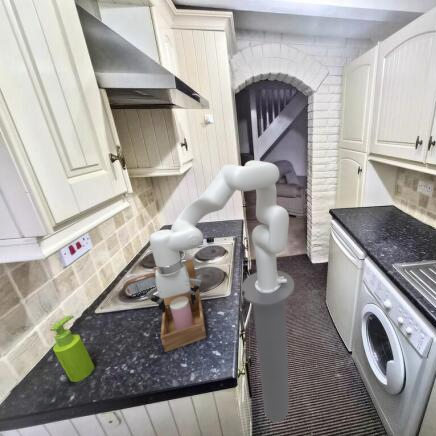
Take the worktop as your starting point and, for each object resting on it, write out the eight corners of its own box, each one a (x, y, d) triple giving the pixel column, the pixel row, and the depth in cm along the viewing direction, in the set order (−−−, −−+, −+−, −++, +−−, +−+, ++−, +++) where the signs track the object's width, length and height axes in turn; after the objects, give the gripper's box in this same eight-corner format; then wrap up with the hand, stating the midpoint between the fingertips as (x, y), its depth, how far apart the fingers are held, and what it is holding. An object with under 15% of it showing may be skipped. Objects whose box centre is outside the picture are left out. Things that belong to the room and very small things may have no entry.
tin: (162, 284, 113) (158, 269, 110) (163, 287, 111) (159, 272, 108) (126, 296, 105) (120, 281, 102) (126, 300, 103) (120, 285, 100)
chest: (206, 337, 84) (203, 323, 81) (164, 352, 78) (160, 337, 76) (202, 309, 97) (200, 296, 94) (167, 320, 92) (163, 307, 89)
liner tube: (196, 320, 91) (190, 295, 86) (191, 333, 85) (185, 307, 80) (180, 321, 90) (173, 296, 86) (173, 334, 84) (166, 309, 80)
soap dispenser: (101, 360, 76) (79, 314, 69) (83, 382, 70) (57, 333, 62) (84, 360, 76) (61, 314, 69) (64, 381, 70) (36, 333, 62)
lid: (192, 259, 90) (192, 254, 95) (153, 267, 85) (155, 262, 90) (200, 296, 94) (199, 289, 99) (162, 306, 89) (164, 299, 94)
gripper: (196, 254, 84) (203, 293, 90) (141, 266, 77) (153, 306, 83) (197, 265, 77) (205, 305, 83) (137, 278, 71) (150, 320, 77)
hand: (179, 305), depth 83 cm, fingers open, 9 cm apart
